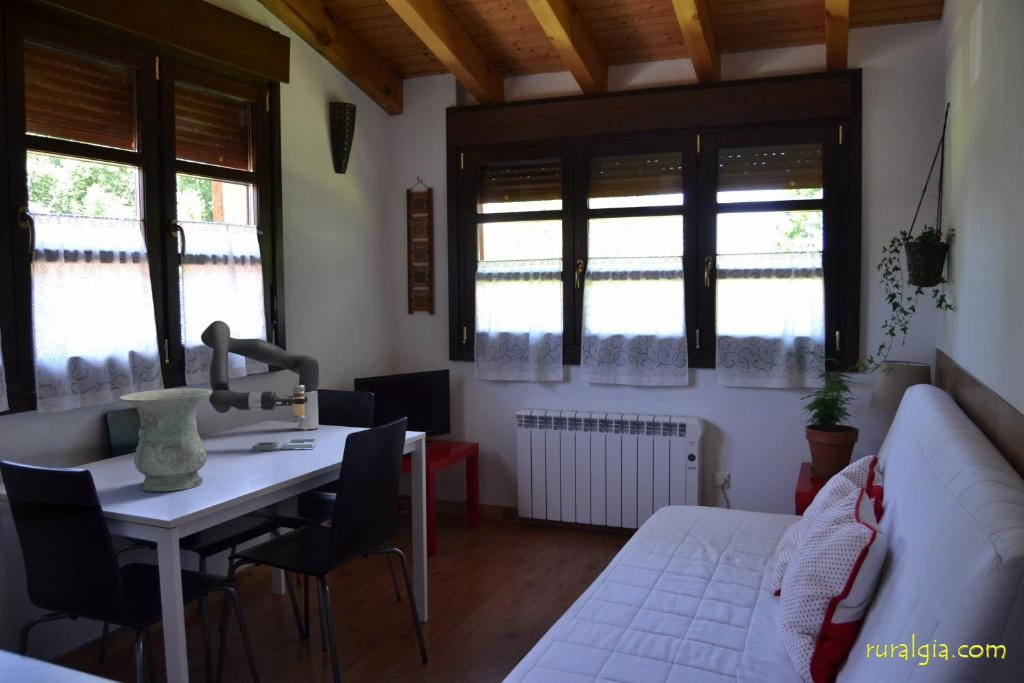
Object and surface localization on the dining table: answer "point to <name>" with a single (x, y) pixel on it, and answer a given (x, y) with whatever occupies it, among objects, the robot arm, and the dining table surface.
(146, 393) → the vessel
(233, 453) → the dining table surface
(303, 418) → the grey capped cylinder
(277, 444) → the socket block
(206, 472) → the dining table surface
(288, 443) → the parts tray
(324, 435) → the dining table surface
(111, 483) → the dining table surface
